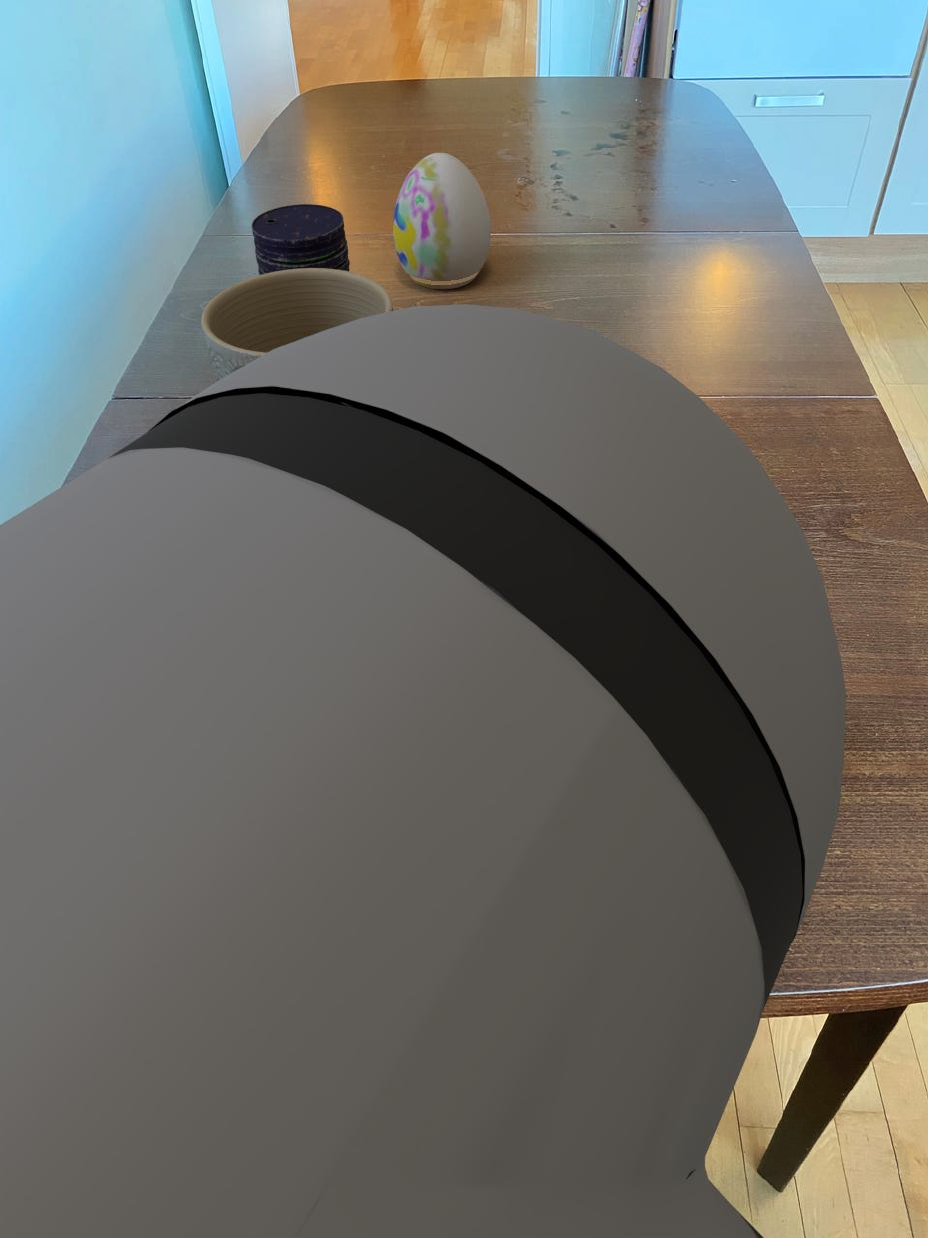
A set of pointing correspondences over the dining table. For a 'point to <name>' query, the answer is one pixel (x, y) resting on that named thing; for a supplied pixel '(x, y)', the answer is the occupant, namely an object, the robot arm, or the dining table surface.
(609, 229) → the dining table surface
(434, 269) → the decorative egg
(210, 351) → the planter
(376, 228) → the dining table surface
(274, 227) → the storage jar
